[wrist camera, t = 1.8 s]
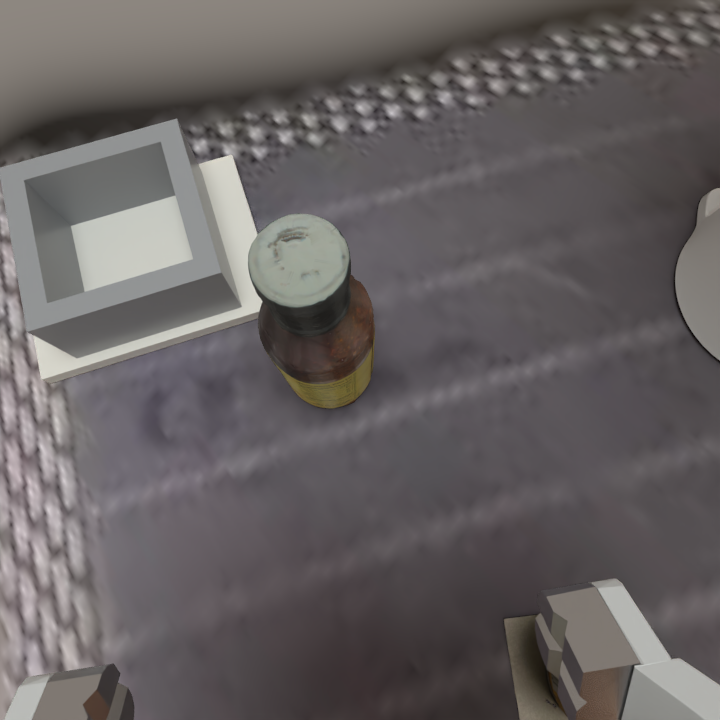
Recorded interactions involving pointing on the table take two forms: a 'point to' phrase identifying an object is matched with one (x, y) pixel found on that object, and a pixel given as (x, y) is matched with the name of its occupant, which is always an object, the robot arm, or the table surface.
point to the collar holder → (127, 248)
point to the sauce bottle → (313, 309)
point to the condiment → (531, 673)
